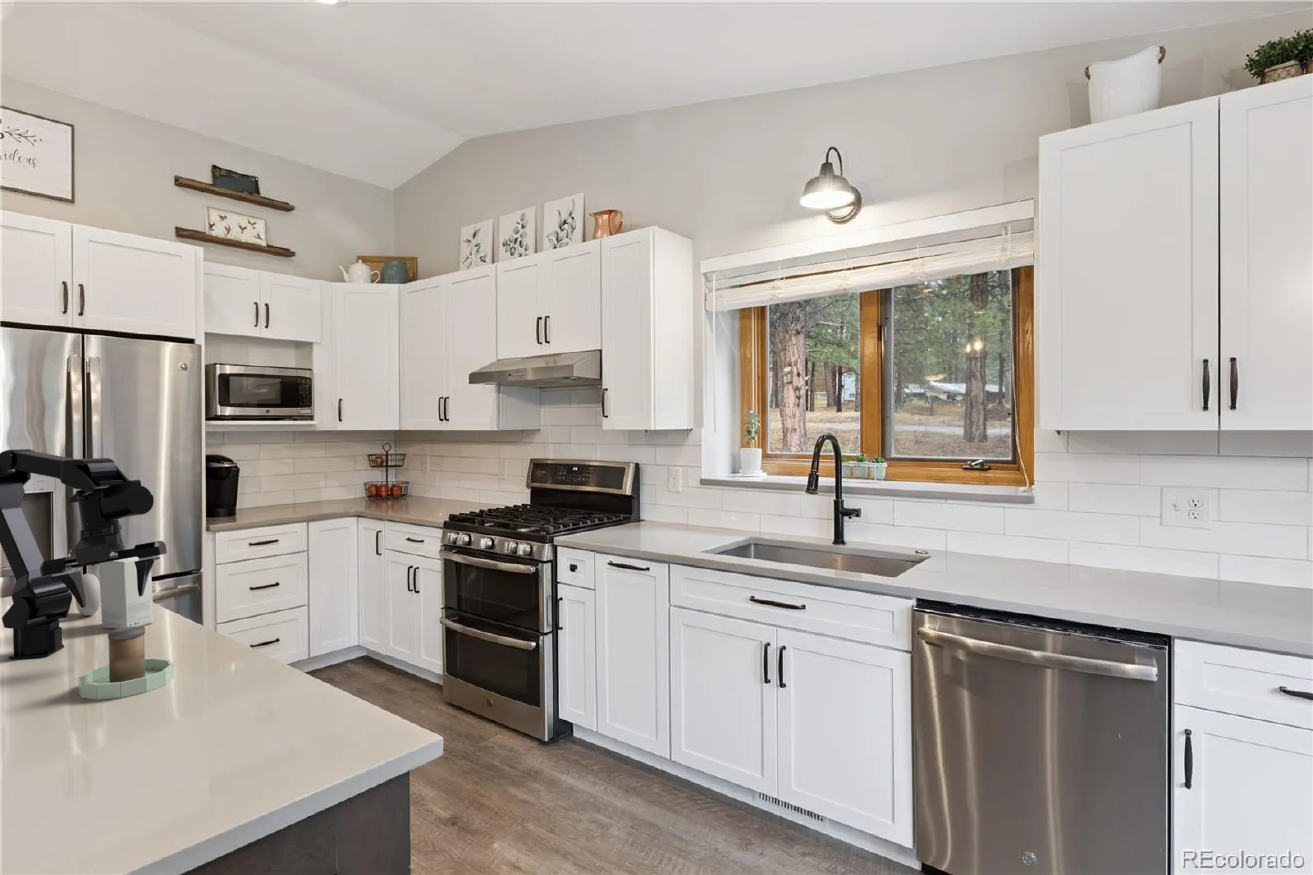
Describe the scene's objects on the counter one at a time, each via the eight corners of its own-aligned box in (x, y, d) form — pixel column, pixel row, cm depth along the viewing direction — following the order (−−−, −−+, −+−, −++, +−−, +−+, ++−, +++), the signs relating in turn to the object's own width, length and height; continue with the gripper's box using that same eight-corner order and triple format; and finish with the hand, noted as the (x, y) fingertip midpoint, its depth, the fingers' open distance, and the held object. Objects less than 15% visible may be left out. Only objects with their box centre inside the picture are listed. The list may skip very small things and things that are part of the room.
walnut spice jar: (100, 686, 122) (100, 634, 121) (127, 675, 127) (126, 625, 126) (127, 687, 121) (126, 635, 121) (153, 676, 126) (152, 627, 126)
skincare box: (154, 623, 161) (153, 556, 161) (124, 631, 155) (123, 561, 155) (128, 620, 164) (128, 553, 164) (98, 627, 158) (97, 559, 158)
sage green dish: (63, 702, 116) (62, 687, 116) (103, 675, 128) (103, 661, 128) (153, 695, 119) (153, 680, 119) (184, 669, 132) (184, 655, 132)
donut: (103, 617, 166) (103, 575, 166) (85, 620, 164) (84, 578, 163) (91, 610, 172) (90, 570, 172) (73, 613, 170) (72, 572, 169)
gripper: (20, 533, 125) (34, 620, 125) (145, 513, 132) (158, 595, 132) (47, 531, 135) (59, 611, 135) (161, 512, 143) (173, 588, 142)
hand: (112, 601), depth 136 cm, fingers open, 9 cm apart
